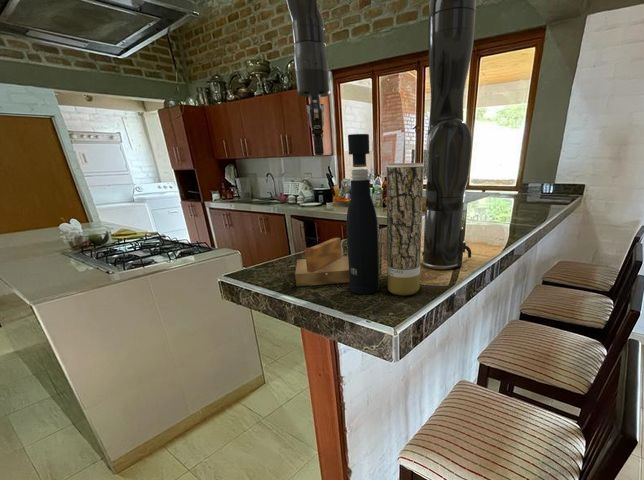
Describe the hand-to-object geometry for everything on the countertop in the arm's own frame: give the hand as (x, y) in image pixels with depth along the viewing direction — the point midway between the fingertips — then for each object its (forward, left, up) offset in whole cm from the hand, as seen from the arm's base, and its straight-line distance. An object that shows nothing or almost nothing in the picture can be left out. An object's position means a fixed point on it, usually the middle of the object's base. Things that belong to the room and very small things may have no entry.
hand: (319, 155), depth 83 cm
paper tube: (-15, +28, -27) cm, 42 cm away
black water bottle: (-7, +25, -27) cm, 38 cm away
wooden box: (+1, +14, -27) cm, 30 cm away
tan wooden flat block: (+1, +14, -24) cm, 28 cm away
